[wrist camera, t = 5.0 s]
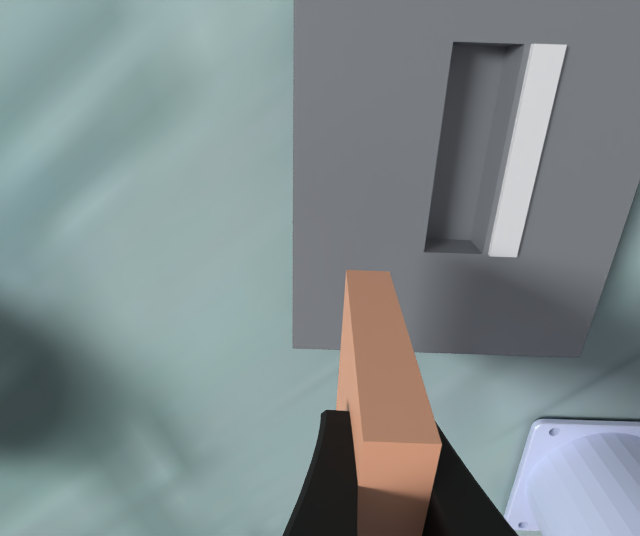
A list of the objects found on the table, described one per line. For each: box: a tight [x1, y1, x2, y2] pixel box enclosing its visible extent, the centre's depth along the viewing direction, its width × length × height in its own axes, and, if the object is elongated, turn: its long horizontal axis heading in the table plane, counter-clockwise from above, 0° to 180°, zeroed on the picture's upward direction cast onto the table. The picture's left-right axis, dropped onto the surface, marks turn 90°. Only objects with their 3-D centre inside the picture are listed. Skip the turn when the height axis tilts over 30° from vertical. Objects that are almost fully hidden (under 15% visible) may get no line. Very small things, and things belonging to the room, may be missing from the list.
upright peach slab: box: [336, 270, 442, 536], centre depth 10 cm, size 1×5×6 cm, turn 178°
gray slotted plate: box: [293, 0, 640, 357], centre depth 16 cm, size 12×16×2 cm
